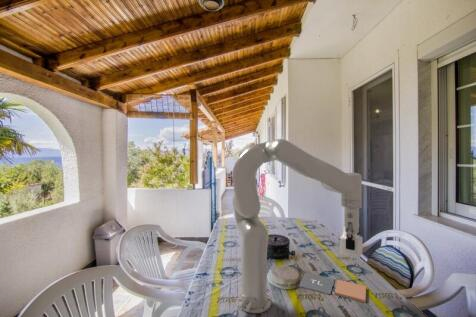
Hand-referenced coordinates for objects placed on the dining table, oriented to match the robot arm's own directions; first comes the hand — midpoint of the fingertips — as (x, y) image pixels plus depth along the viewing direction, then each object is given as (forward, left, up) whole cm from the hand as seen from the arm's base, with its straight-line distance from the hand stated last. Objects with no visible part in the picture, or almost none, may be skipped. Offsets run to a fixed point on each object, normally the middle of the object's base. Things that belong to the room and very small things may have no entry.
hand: (351, 245), depth 99 cm
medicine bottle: (0, 0, -4) cm, 4 cm away
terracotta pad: (0, 0, -19) cm, 19 cm away
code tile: (0, +14, -19) cm, 23 cm away
